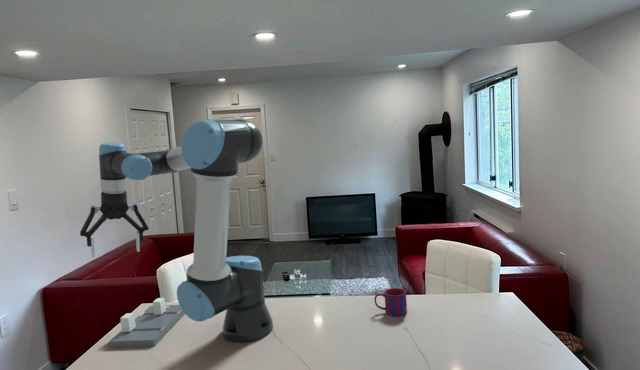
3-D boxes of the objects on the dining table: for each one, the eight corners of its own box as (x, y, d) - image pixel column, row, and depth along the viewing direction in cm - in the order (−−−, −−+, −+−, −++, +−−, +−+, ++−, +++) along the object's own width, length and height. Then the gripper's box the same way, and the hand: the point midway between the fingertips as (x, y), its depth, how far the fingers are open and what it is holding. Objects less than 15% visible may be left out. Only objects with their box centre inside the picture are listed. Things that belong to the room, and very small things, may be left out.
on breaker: (129, 331, 130) (128, 317, 129) (122, 332, 130) (120, 318, 130) (135, 326, 133) (134, 313, 133) (128, 326, 134) (126, 313, 133)
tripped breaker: (161, 314, 141) (159, 301, 141) (154, 314, 142) (152, 302, 141) (166, 310, 145) (164, 297, 144) (159, 310, 145) (157, 298, 145)
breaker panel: (154, 346, 124) (153, 338, 124) (109, 347, 125) (108, 340, 125) (189, 309, 150) (188, 303, 149) (151, 311, 151) (150, 304, 151)
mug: (406, 317, 130) (405, 296, 130) (374, 316, 133) (373, 295, 132) (407, 308, 137) (406, 288, 136) (376, 307, 139) (375, 287, 138)
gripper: (153, 186, 146) (154, 244, 150) (69, 190, 134) (73, 253, 138) (156, 191, 139) (157, 252, 144) (68, 195, 127) (72, 261, 132)
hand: (116, 252), depth 141 cm, fingers open, 13 cm apart
